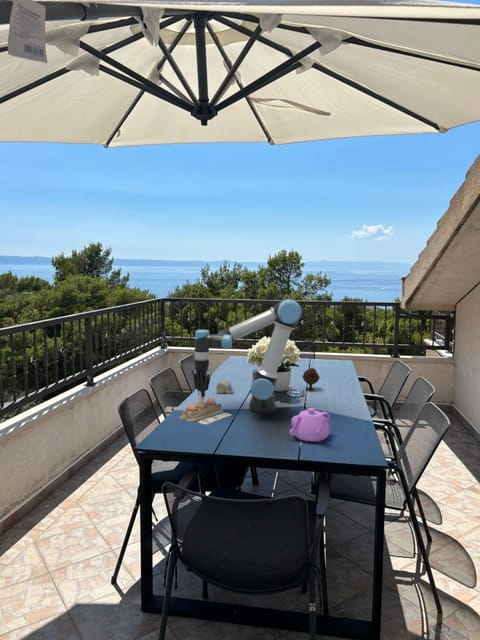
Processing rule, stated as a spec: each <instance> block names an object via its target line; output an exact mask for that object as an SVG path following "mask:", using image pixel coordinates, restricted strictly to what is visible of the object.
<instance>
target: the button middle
mask: <svg viewBox="0 0 480 640" xmlns="http://www.w3.org/2000/svg"><path fill="white" fill-rule="evenodd" d="M206 402H207V401H206ZM206 402H205V401H204V403H199V401H198V402H197V403H196V405H197V408H200V409H203V408H206Z"/></svg>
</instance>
